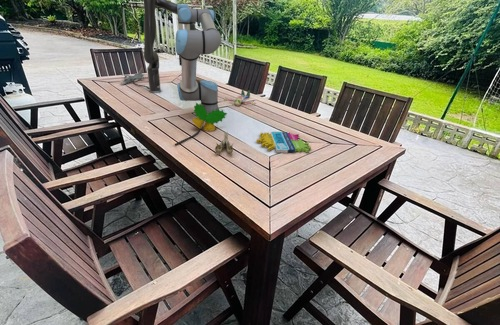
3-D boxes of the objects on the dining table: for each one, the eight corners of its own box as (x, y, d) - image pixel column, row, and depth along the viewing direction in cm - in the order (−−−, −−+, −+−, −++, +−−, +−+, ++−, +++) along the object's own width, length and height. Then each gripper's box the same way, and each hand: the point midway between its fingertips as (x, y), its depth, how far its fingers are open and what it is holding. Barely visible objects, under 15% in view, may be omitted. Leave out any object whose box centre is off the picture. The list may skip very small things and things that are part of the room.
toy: (261, 91, 228) (254, 99, 202) (261, 99, 231) (253, 108, 205) (231, 87, 233) (220, 95, 207) (230, 95, 236) (219, 104, 210)
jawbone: (234, 135, 144) (233, 125, 135) (233, 160, 138) (232, 151, 129) (217, 135, 144) (216, 125, 135) (216, 160, 138) (214, 150, 129)
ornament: (218, 133, 171) (224, 110, 169) (221, 134, 163) (227, 111, 161) (186, 125, 162) (192, 101, 160) (189, 126, 155) (195, 101, 153)
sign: (313, 150, 142) (258, 149, 139) (312, 153, 143) (258, 152, 140) (301, 132, 164) (254, 130, 161) (301, 134, 165) (254, 133, 162)
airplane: (115, 77, 268) (113, 67, 262) (148, 75, 281) (146, 66, 276) (118, 87, 239) (116, 75, 234) (154, 84, 252) (153, 74, 247)
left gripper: (196, 36, 225) (196, 56, 233) (181, 36, 216) (182, 57, 224) (201, 37, 221) (201, 58, 229) (186, 37, 212) (187, 58, 220)
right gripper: (187, 30, 187) (189, 61, 197) (169, 31, 166) (172, 66, 176) (197, 30, 186) (198, 62, 196) (180, 32, 164) (182, 67, 175)
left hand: (192, 57), depth 227 cm, fingers open, 8 cm apart
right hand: (186, 64), depth 186 cm, fingers open, 13 cm apart
